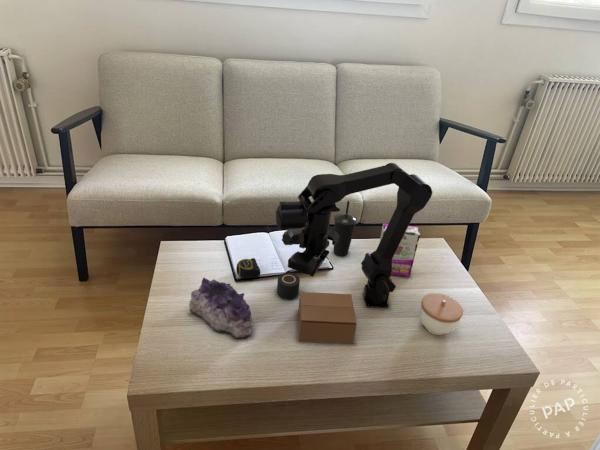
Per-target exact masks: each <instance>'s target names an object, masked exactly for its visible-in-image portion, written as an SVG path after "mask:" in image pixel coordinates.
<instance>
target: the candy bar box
mask: <svg viewBox="0 0 600 450" xmlns="http://www.w3.org/2000/svg"><path fill="white" fill-rule="evenodd" d="M388 224H389V223H385V222H384V223H382V226H381V227H382V228H381V233H380V239H379V242H380V241H381V239H382V237H383V235H384V232H385V230H386V228H387V226H388ZM420 237H421V232H420V229H419V227H418V226H412V225H409V226H408V228H407V230H406V232H405V234H404V236H403V238H402V240H401V242H400V244H399V246H398V248H397V250H396V252H395V254H394V256H393V258H392V273H391V276H396V277H397V276H398V277H405V278H410V276H411V273H412V269H413V265H414V261H415V257H416V253H417V249H418V245H419V241H420Z"/></svg>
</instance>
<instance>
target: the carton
mask: <svg viewBox="0 0 600 450" xmlns="http://www.w3.org/2000/svg"><path fill="white" fill-rule="evenodd" d="M297 312H298V313H297V315H298V316H297V317H298V318H297V319H298V323H297V324H298V342H303V343H304V342H306V343H309V342H310V343H329V344H349V345H350V344H351V345H352V344H354V340H355V334H356V330H357V324H358V322H357V316H356V311H355V307H354V308H343V307H322V306H302V305H301V297H300V296H299V301H298V309H297Z"/></svg>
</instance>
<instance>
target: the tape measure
mask: <svg viewBox="0 0 600 450" xmlns="http://www.w3.org/2000/svg"><path fill="white" fill-rule="evenodd" d="M235 271H236V273H237V275H238V276H239V277H240V278H243V279H253V278H257V277H259V276H261V269H260V267H259V265H258V262H257V260H256V258H254V257H253V258H244V259H241V260H239V261H238V262H237V264H236V270H235Z"/></svg>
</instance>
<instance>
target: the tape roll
mask: <svg viewBox="0 0 600 450" xmlns="http://www.w3.org/2000/svg"><path fill="white" fill-rule="evenodd" d="M300 282H301V279H300V277H299V276H298V275H297V274H296V273H293V272H283V273H281V274H279V275H278V277H277V285H276V294H277V296H278V298H280V299H283V300H287V301H291V300H294V299H297V297H298V296H299V295H300V294H299V293H300Z"/></svg>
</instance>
